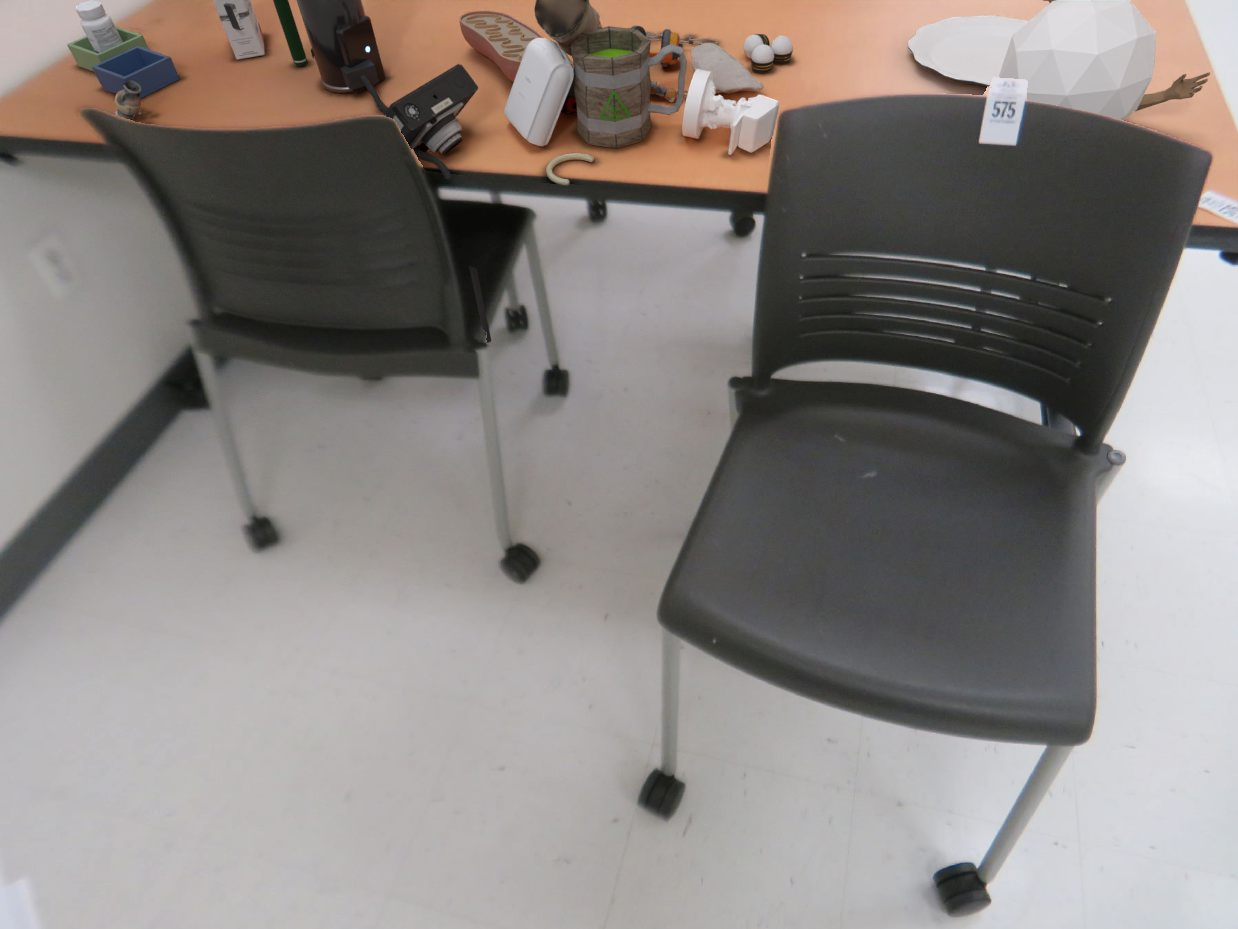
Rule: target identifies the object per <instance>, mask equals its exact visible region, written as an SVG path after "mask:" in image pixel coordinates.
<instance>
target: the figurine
mask: <svg viewBox="0 0 1238 929" xmlns="http://www.w3.org/2000/svg"><path fill="white" fill-rule="evenodd" d="M650 94H651V95H657V96H659V97H664V99H665V100H666V101H668V102H669V103H673V102H675V101H676V99H677V97H678V90H676V89H675V88H672V87H670V88H668V89H667V88H666V87H665V86H662V85H659V82H658V80H653V81H652V80H651V93H650ZM687 94H688V90H686V89H684V97H686V98H687Z"/></svg>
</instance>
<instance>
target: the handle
mask: <svg viewBox="0 0 1238 929" xmlns="http://www.w3.org/2000/svg"><path fill="white" fill-rule="evenodd" d="M573 160H578V161H579V160H581V161H586V162H589V163H593V162H594V160H595V158H594V156H592V155H590V154H587V153H582V152H570V153H564V154H562V155H558V156H556V157H554V158H553V159H551V160H550V161H549V162H548V163H547V165H546V168H545V173H546V176H547V177H548V179H549V180H550V181H551V182H553V183H555V184H557V185H560V186H566V187H568V186H569V185H570V184H571V183H570V182H571V181H570V180H569V179H567V178H562V177H559V176H557V175H555V173H554V172H553V169H554V168H555V167H556V166H558V164H560V163H563V162H566V161H573Z"/></svg>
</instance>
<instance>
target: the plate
mask: <svg viewBox="0 0 1238 929" xmlns="http://www.w3.org/2000/svg"><path fill="white" fill-rule="evenodd" d="M1029 21H1030V20H1028V19H1021V18H1020V19H1019V18H1010V17H1006V16H1001V15H993V14H992V15H990V14H982V15H973V16H951V17H946V18H943V19H941V20H939V21H937V22H932V23H927V24H924V25H923V26H921V27H920V28H917V29H916V31H915V34H914V35H913V36H912V37H911V38H910V39H908V41H907V49H908V50H909V51H910V52H911V53H912V54H913V58H914V61H915V62H916V63H917V64H918V65H920V66H921V67H922V68H926V69H927V70H931V71H933V72H935V73H936V74H938V75H940V76H942V77H943V78H945V79H948V80H951V81H955V82H961V83H964V84H968V85H973V86H979V87H988V88H990V87H989V86H990V80H991V79H992V77H993V76H999V74H1000V71H1001V68H1002V65H1003V62H1004V59H1005V56H1006V53H1007V50H1008V47H1009V44H1010V41H1011V38H1012V35H1013V34H1014V33H1016V32H1017V31H1018V30H1019V29H1020V28H1021V27H1023V26H1024V25H1025V24H1026V23H1027V22H1029Z"/></svg>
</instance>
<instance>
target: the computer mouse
mask: <svg viewBox="0 0 1238 929" xmlns="http://www.w3.org/2000/svg"><path fill="white" fill-rule="evenodd" d="M573 72H574V70H573ZM560 113H562V114H573V113H574V114H575V113H577V105H576V99H575V93H574V78H573V81H572V84H571V87H570V89H569V92H568V94H567V97H566V99H565V102H564V104H563V107H562V109H561V112H560Z"/></svg>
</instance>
